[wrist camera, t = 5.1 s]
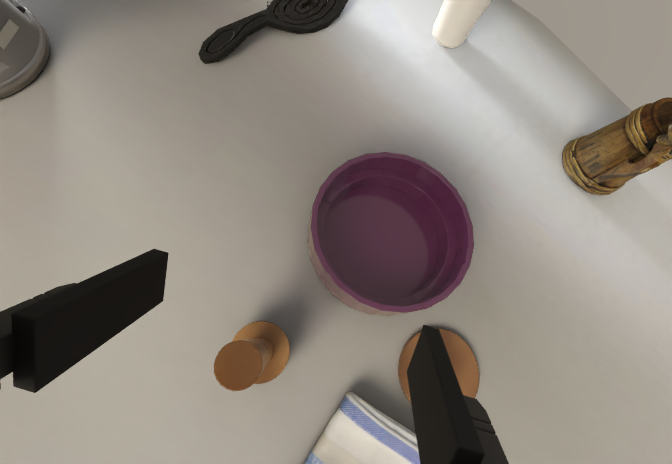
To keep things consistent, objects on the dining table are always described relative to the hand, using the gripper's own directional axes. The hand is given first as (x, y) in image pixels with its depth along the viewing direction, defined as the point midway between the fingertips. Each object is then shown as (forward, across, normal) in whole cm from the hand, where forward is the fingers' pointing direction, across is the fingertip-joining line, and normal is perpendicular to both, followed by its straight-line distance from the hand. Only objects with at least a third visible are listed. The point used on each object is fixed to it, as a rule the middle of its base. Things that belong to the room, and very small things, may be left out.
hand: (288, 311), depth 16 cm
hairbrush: (+37, -16, +22) cm, 46 cm away
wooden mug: (+37, +32, +12) cm, 50 cm away
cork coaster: (+17, +15, -12) cm, 26 cm away
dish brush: (+14, -4, -14) cm, 20 cm away
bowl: (+24, +6, -2) cm, 24 cm away
